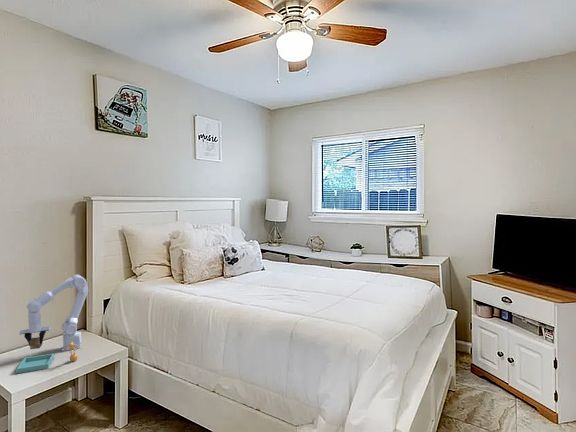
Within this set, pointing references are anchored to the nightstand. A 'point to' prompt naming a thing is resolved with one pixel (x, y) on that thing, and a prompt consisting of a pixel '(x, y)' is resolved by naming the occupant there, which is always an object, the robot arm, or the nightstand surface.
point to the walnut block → (35, 343)
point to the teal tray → (35, 363)
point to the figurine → (73, 356)
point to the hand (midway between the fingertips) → (36, 344)
